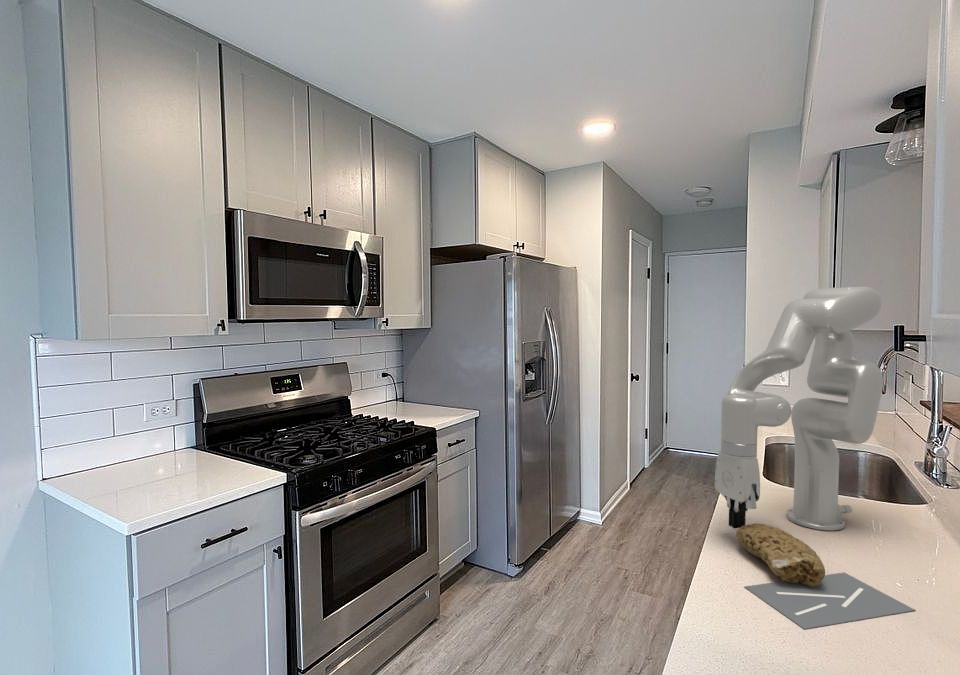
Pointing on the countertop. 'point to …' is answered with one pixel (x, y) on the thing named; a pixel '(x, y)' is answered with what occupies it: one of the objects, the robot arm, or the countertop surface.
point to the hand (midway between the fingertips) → (736, 526)
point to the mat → (828, 601)
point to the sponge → (782, 553)
